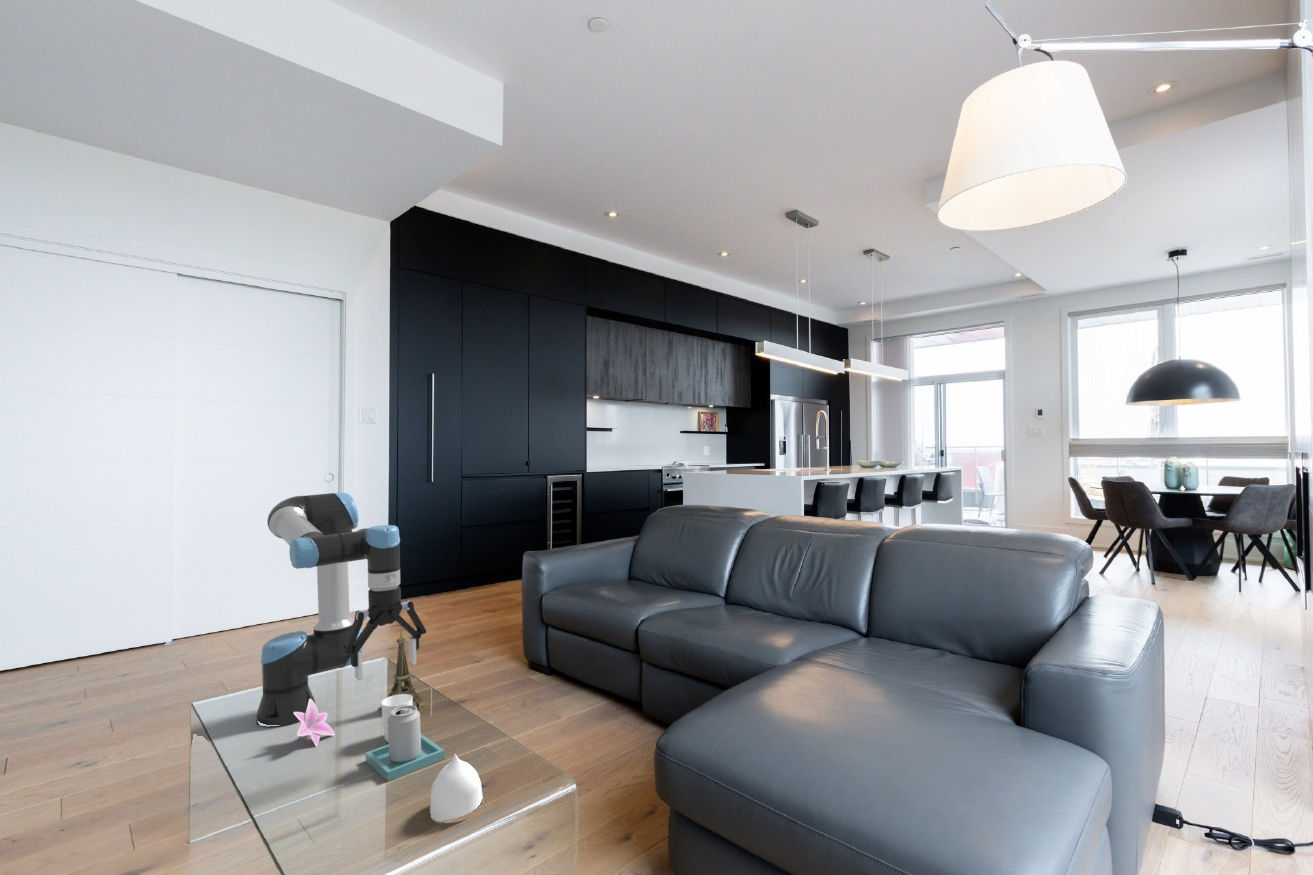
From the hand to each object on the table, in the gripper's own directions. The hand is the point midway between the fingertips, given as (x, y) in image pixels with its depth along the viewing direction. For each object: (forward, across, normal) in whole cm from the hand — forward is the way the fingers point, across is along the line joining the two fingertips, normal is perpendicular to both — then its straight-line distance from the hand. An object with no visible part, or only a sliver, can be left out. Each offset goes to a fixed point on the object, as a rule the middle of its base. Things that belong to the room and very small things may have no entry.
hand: (386, 670), depth 159 cm
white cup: (+22, +6, +9) cm, 25 cm away
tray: (+22, +2, -5) cm, 22 cm away
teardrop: (+21, 0, -35) cm, 41 cm away
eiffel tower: (+23, +15, +26) cm, 38 cm away
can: (+21, +2, -5) cm, 22 cm away
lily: (+23, -10, +24) cm, 35 cm away
